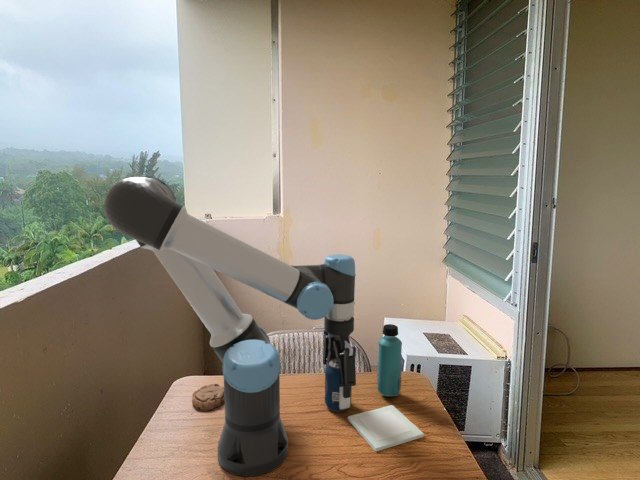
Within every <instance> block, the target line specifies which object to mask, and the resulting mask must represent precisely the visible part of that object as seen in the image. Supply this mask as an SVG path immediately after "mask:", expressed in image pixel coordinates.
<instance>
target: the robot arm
mask: <svg viewBox="0 0 640 480" xmlns="http://www.w3.org/2000/svg"><path fill="white" fill-rule="evenodd" d="M104 214H105V217H106V219H107V220H108V223H110V224H111V226H112V227H113V228H114V229H115V230H117V232H119V233H121V234H123V235H124V236H127V237H129V238H130V239H131V238H132V239H133V240H135V241H136V242H137V244H138V246H140V248H141V249H145V250H149V251H152V253H153V254H154V255H155V256H156V258H157V259H158V261H159V262H160V263H161V265H162V266H163V268H164V269H165V270H166V272H167V274H168V275H169V276H170V278H171V280H173V282H174V284H175V285H176V286H177V288H178V289H179V291H181V293H182V295H183V296H184V298H185V299H186V301H187V302H188V303H189V305H190V306H191V308H192V309H193V311H194V313H195V314H196V315H197V316H198V318H199V319H200V321H201V323H203V325H204V326H205V328H206V329H207V331H208V332H209V333H210V335H211V336H210V340H209V345H210V347H211V348H212V350H213V351H214V353H215V354H216V356H217V357H218V358H219V360H220V361H221V363H222V364H221V366H222V374H223V387H224V401H223V403H224V424H223V428H222V431H221V434H220V436H219V439H218V444H217V461H218V463H219V464H220V465H219V466H220V467H221V468H222V469H224V471H226V472H228V473H229V474H233V475H234V476H238V477H257V476H262V475H265V474H267V473H271V472H272V471H274V470H276V469H277V468H279V467H280V466H281V465H283V463H284V462H285V460H286V459H287V457H288V454H289V438H288V435H287V432H286V430H285V426H284V424H283V420H282V419H281V411H280V410H281V402H280V401H281V396H280V395H281V393H280V389H281V386H280V382H281V381H280V380H281V379H280V377H281V375H280V372H281V361H280V354H279V351H278V350H277V349H276V347H275V346H274V345H272V343H271V340H270V337H269V336H268V334H267V333H266V331H265V330H264V329H263V328H262V327H261V326H260V325H258V323H257V322H256V320H255V319H254V317H253V316H252V315H251V314H249V313H243V312H242V310H241V309H240V308H239V307H238V304H237V303H236V302H235V300H234V299H233V297H232V296H231V295H230V293H229V291H228V289H227V288H226V286H225V285H224V284H223V282H222V281H221V279H220V278H219V276H218V275H217V273H216V272H218V273H221V274H222V275H224V276H227V277H228V278H230V279H233V280H235V281H237V282H239V283H242V284H243V285H246V286H248V287H250V288H253V289H254V290H257V291H259V292H261V293H263V294H266V295H267V296H270V297H272V298H274V299H276V300H278V301H281V302H283V303H284V304H286V305H288V306H290V307H292V308H294V309H297V310H298V312H299V313H300V314H301V315H302V316H304V317H305V318H307V319H309V320H312V321H317V320H320V319H323V318H324V320H323V321H324V324H323V325H324V326H323V351H322V352H323V353H322V365H324V366H325V367H326V365H327V364H328V361H329V360H330V359H333V358H338V362H339V369H340V376H341V383H342V384H339V386H340V392H339V408H340V410H341V409H345V408H347V409H349V408H351V404H350V389H351V390H352V388H351V386H352V387H355V386H357V377H356V376H357V375H356V352H357V348H356V346H351V343H350V335H351V334H352V333H354V330H355V317H354V315H355V305H356V302H355V292H356V290H355V287H356V260H355V259H354V257H352V256H350V255H347V254H330V255H327V256H325V258H324V262H323V263H321V264H310V265H308V264H307V265H305V264H304V265H293V264H292V265H290V264H288V263H286V262H284V261H282V260H280V259H278V258H276V257H274V256H272V255H270V254H268V253H266V252H265V251H262V250H261V249H258V248H256V247H254V246H252V245H250V244H248V243H246V242H245V241H242V240H240V239H238V238H236V237H235V236H233V235H230V234H229V233H227V232H224V231H222V230H220V229H218V228H216V227H215V226H213V225H210V224H209V223H206V222H204V221H203V220H201V219H199V218H197V217H194V216H193V215H191V214H189V213H188V211H187V208H186V206H185V205H183V204H181V203H180V202H177V198H176V196H175V192H174V191H173V189H172V188H171V186H169V185H168V184H167V183H166V182H165V181H163V180H161V179H160V178H157V177H155V176H149V175H138V176H134V177H133V176H132V177H127V178H126V177H125V178H123V179H120V180H119V181H117V182H116V183H114V184H113V185H112V186H111V187H110V189H108V191H107V193H106V196H105V198H104ZM215 271H216V272H215ZM325 367H324V368H325Z"/></svg>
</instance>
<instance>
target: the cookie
mask: <svg viewBox="0 0 640 480" xmlns="http://www.w3.org/2000/svg"><path fill="white" fill-rule="evenodd" d="M191 396H192V401H191V402H192V407H194V408H195V409H196V410H197V411H201V412H204V411H211V410H214V409H216V408H217V407H220V406H221V405H222V404H223V403H224V386H221V385H220V384H219V383H211V384H207V385H203V386H201V387H200V388H199V389H197V390H195V391H194V392H193V393H192V395H191Z"/></svg>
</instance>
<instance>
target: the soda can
mask: <svg viewBox="0 0 640 480" xmlns="http://www.w3.org/2000/svg"><path fill="white" fill-rule="evenodd" d="M325 366H326V367H324V403H325V405H326V407H327V409H329V410H330V411H333V412H337V413H339V412H344V411H346V410H347V409H348V408H345V409H341V410H340V408H339V392H340V386H339V384H342V383H341V376H340V369H339V362H338V358H333V359H330V360H329V361H328V364H327V365H325ZM352 387H353V386H351V389H350V405H352V389H353V388H352Z"/></svg>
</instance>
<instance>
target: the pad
mask: <svg viewBox="0 0 640 480" xmlns="http://www.w3.org/2000/svg"><path fill="white" fill-rule="evenodd" d="M347 421H348V422H349V423H350V424H351V425H352V426H353V427H354V429H355V430H356V431H357V432H358V434H359V435H360V436H361V437H362V438H363V439H364V440H365V441H366V442H367V444H368V445H369V446H370V447H371V449H372V450H373V451H374V452H375V453H376V452H380V451H383V450H386V449H389V448H392V447H395V446H398V445H401V444H406V443H408V442H411V441H415V440H419V439H421V438H424V437H425V434H424V432H423V431H421V429H419V428H418V427H417V426H416V425H415V424H414V423H413V422H411V421H410V420H409V419H408V418H407V417H406V416H405V415H404V414H403V413H402V412H401V411H400V410H399V409H398V408H396V407H395V406H394V405H392V404H391V405H387V406H383V407H379V408H376V409H372V410H367V411H363V412H361V413H360V412H359V413H356V414H352V415H348V416H347Z"/></svg>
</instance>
